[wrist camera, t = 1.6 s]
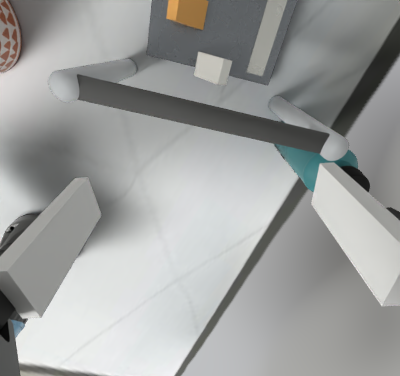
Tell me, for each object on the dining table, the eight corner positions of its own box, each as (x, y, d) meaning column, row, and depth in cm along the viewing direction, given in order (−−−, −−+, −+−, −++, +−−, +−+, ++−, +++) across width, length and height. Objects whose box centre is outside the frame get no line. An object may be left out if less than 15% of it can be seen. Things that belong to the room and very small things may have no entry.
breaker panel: (150, 54, 35) (146, 54, 33) (161, -55, 29) (157, -64, 27) (263, 83, 37) (268, 85, 35) (296, -13, 31) (304, -18, 29)
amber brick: (197, 29, 32) (166, 18, 28) (202, 1, 30) (170, -14, 26) (206, 31, 31) (175, 20, 27) (211, 3, 30) (180, -13, 26)
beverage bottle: (263, 125, 41) (309, 183, 24) (301, 105, 39) (380, 151, 22) (277, 155, 44) (326, 226, 27) (312, 138, 42) (390, 202, 25)
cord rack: (120, 74, 37) (49, 98, 20) (128, -110, 27) (3, -383, 10) (279, 112, 40) (340, 163, 22) (339, -41, 30) (526, -157, 13)
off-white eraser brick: (190, 74, 34) (217, 84, 30) (195, 50, 32) (223, 58, 29) (199, 75, 35) (225, 85, 32) (203, 52, 33) (232, 60, 30)
